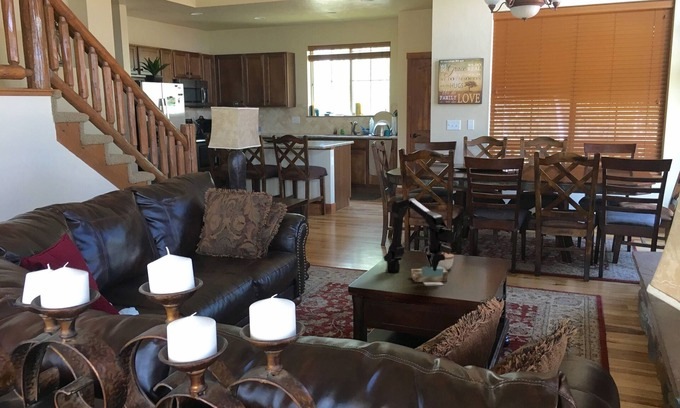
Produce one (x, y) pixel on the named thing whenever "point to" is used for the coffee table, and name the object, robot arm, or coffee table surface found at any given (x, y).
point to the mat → (432, 283)
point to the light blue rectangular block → (430, 273)
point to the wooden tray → (419, 277)
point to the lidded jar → (446, 261)
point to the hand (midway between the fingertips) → (433, 269)
